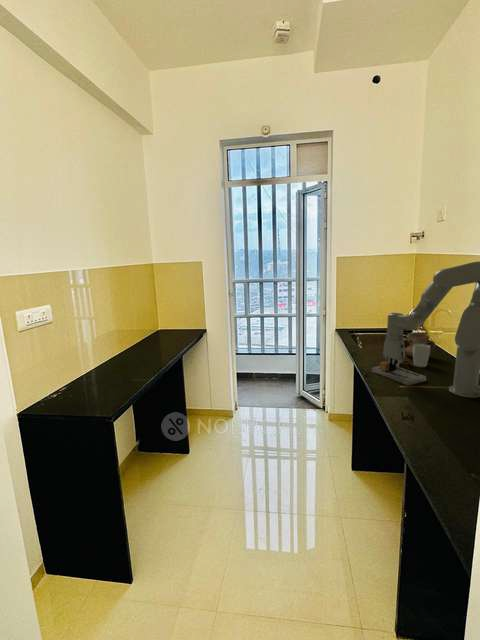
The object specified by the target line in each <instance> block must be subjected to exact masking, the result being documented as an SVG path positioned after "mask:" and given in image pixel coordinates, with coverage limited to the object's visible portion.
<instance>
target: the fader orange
mask: <svg viewBox="0 0 480 640" xmlns="http://www.w3.org/2000/svg"><path fill="white" fill-rule="evenodd" d="M379 366H380V369H381V370H384V371H387V370H389V363H388V361H387V360H385V361H381V362H380V364H379Z"/></svg>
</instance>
